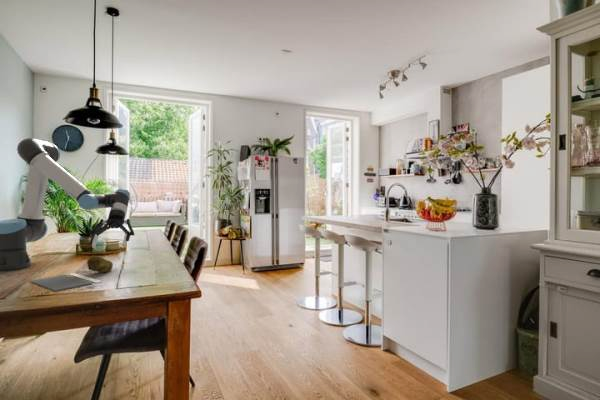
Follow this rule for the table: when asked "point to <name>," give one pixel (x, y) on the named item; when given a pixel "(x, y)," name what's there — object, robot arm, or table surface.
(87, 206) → the robot arm
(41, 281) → the mat
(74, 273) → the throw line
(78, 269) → the table surface
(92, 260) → the potato
